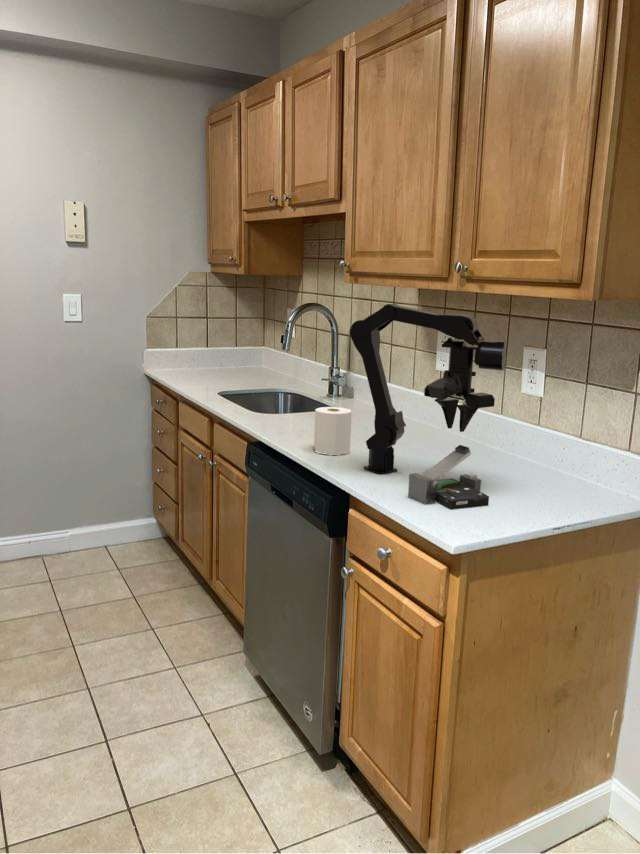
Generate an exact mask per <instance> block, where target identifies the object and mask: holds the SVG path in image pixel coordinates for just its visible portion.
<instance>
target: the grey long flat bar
mask: <svg viewBox="0 0 640 854" xmlns="http://www.w3.org/2000/svg"><path fill="white" fill-rule="evenodd" d="M470 456H472V451H471V450H470V447H469V446H465V445H462V444H458V445H457V446H456V447H454V450H453V451H451V452H450V453H449V454H448V455H446V456H445V457H444V458H442V459H441V460H440V461H438V462H437V463H436V464H434V465H433V466H431V467H430V468H429V469H427V470H426V471H425V472H424V473H422V474H421V475H422V476H425V477H428V478H430V479H433V480H440V478H442V477H444V476H445V475H446V474H447V473H449V472H450V471H452V470H453V469H454V468H455V467H456V466H458V465H459V464H460V463H462V462H463V461H464V460H466V459H467V458H469V457H470Z"/></svg>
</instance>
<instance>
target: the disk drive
mask: <svg viewBox="0 0 640 854" xmlns="http://www.w3.org/2000/svg"><path fill="white" fill-rule="evenodd" d="M459 481H460V480H457V479H456V478H446V479H445V478H444V479H438V480H437V482H438V485H437V489H436V502H435V503H437V504H440V505H442V506H443V507H444V508H447V509H449V510H451V511H452V510H459V509H468V508H476V507H487V506H489V500H490V496H489V495H487V493H484V492H482V491H481V490H480V491H478V490H475V489H473V488H471V487H469V486H467V485H465V484H463V483H461V482H459Z"/></svg>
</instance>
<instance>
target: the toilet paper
mask: <svg viewBox="0 0 640 854" xmlns="http://www.w3.org/2000/svg"><path fill="white" fill-rule="evenodd" d="M352 415H353V411H352V410H351V409H349V408H345V407H341V406H340V407H338V406H324V407H323V406H321V407H317V408H315V410H314V437H313V438H314V440H313V450H314V449H315V451H318V452H321V453H325V454H332V455H337V456H341V455H340V454H346V455H348V454H350V453H351V440H352V439H351V435H352V417H353V416H352ZM315 451H314V452H315ZM349 452H350V453H349ZM347 453H348V454H347ZM332 455H331V456H332Z"/></svg>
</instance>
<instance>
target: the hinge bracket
mask: <svg viewBox="0 0 640 854" xmlns="http://www.w3.org/2000/svg"><path fill="white" fill-rule="evenodd" d="M437 485H438V482H437V480H433V479H430V478H428V477H425V476H422V474H420V473H416V472H414V473H409V476H408V492H407V497H408V498H410V499H412V500H414V501H417V502H419V503H422V504H424V505H433V504H436V503H437V502H436V489H437Z"/></svg>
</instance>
